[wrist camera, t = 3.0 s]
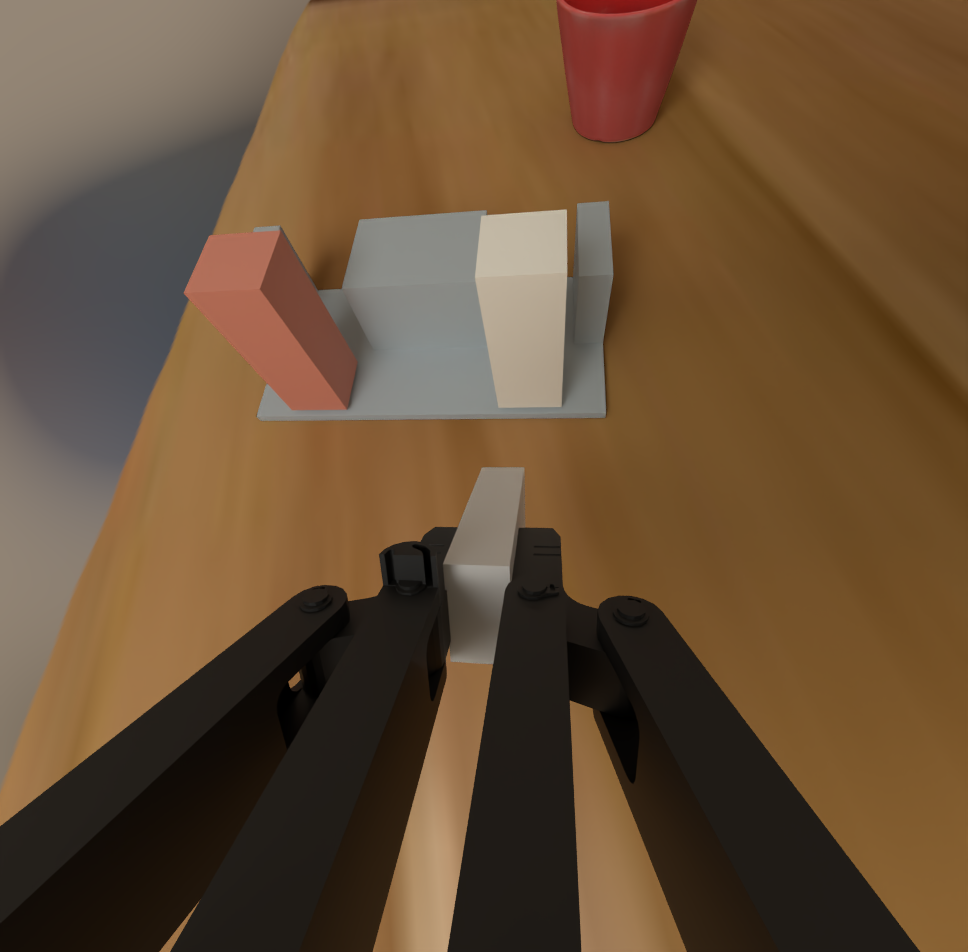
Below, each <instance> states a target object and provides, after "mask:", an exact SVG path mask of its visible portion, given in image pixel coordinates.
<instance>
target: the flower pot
mask: <svg viewBox="0 0 968 952" xmlns="http://www.w3.org/2000/svg"><path fill="white" fill-rule="evenodd" d="M696 2H697V0H557V10H558V19H559V27H560V35H561V43H562V50H563V59H564V66H565V74H566V81H567V88H568V95H569V102H570V109H571V115H572V122H573V126H574V128H575V130H576V131H577V132H578V133H579V134H580V135H582V136H583V137H585V138H588V139H590V140H594V141H595V140H600V141H602V142H620V141H625V140H629V139H632V138H634V137H637V136H639V135H641V134H642V133H644V132H645V131H647V130H648V129H649V128H650V127H651V126H652V124H653V123H654V121H655V119H656V116H657V113H658V110H659V108H660V105H661V102H662V100H663V97H664V95H665V92H666V89H667V86H668V84H669V81H670V78H671V75H672V73H673V70H674V67H675V64H676V61H677V58H678V56H679V53H680V50H681V47H682V44H683V41H684V38H685V35H686V32H687V29H688V26H689V23H690V20H691V17H692V14H693V11H694V8H695V5H696Z"/></svg>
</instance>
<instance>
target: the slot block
mask: <svg viewBox="0 0 968 952" xmlns="http://www.w3.org/2000/svg"><path fill="white" fill-rule="evenodd" d="M485 215H487V210H484V211H470V212H457V213H443V214H430V215H417V216H403V217H390V218H376V219H363V220H359V224H358V228H357V232H356V235H355V239H354V243H353V247H352V251H351V255H350V259H349V262H348V266H347V270H346V274H345V278H344V282H343V285H342V289H332V290H317V288H316V286H315V284H314V283H313V281H312V279H311V278H310V276H309V274H308V272H307V271H306V269H305V267H304V265H303V264H302V262H301V260H300V259H299V257H298V255H297V253H296V252H295V250H294V248H293V247H292V245H291V243H290V241H289V240H288V238H287V236H286V234H285V233H284V231H283V229H282V228H281V226H268V227H255V228H254V231H253V232H264V231H278V230H281V232H282V233H283V235H284V237H285V238H286V240H287V242H288V244H289V245H290V247H291V249H292V250H293V252H294V254H295V256H296V257H297V259H298V261H299V262H300V264H301V266H302V267H303V269H304V271H305V273H306V274H307V276H308V278H309V279H310V281H311V283H312V285H313V286H314V288H315V290H316V291H317V293H318V295H319V296H320V298H321V300H322V302H323V303H324V305H325V307H326V308H327V310H328V312H329V314H330V315H331V317H332V319H333V320H334V322H335V324H336V326H337V327H338V329H339V331H340V332H341V334H342V336H343V337H344V339H345V341H346V343H347V344H348V346H349V348H350V349H351V351H352V353H353V355H354V356H355V358H356V360H357V361H358V363H357V367H356V372H355V376H354V381H353V385H352V390H351V395H350V399H349V404H348V408H347V410H291V409H290V408H289V406H288V405H287V404H286V403H285V402H284V401H283V400H282V399H281V398H280V397H279V396H278V395H277V393H276V392H275V391H274V390H273V389H272V388H271V387H270V386H269V385H268V384H266V388H265V391H264V394H263V397H262V400H261V404H260V407H259V410H258V413H257V416H256V417H258V418H259V419H260V420H261V421H290V420H404V419H519V418H605V416H606V400H605V378H604V357H603V339H604V332H605V326H606V319H607V313H608V306H609V300H610V293H611V287H612V280H613V261H612V245H611V229H610V213H609V201H605V202H592V203H578V204H577V218H576V236H575V253H574V271H573V277H567V289H566V313H565V336H564V360H563V383H562V406H561V407H528V408H498V402H497V397H496V391H495V386H494V380H493V375H492V369H491V364H490V358H489V353H488V347H487V342H486V336H485V331H484V325H483V320H482V314H481V309H480V303H479V298H478V292H477V287H476V281H475V271H476V262H477V252H478V242H479V233H480V223H481V216H485Z"/></svg>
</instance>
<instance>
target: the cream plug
mask: <svg viewBox="0 0 968 952" xmlns="http://www.w3.org/2000/svg"><path fill="white" fill-rule="evenodd" d="M475 281H476V287H477V292H478V298H479V303H480V309H481V314H482V320H483V325H484V331H485V336H486V342H487V347H488V353H489V358H490V364H491V369H492V375H493V380H494V386H495V391H496V397H497V402H498V408H528V407H561V406H562V383H563V360H564V336H565V313H566V289H567V210H554V211H540V212H526V213H512V214H499V215H485V216H481V223H480V233H479V242H478V252H477V262H476V271H475Z"/></svg>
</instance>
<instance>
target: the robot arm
mask: <svg viewBox="0 0 968 952" xmlns="http://www.w3.org/2000/svg"><path fill="white" fill-rule="evenodd" d="M379 557H380V564H381V572H382V579H383V587H382V589H381V590H380V592H379V594H378V595H377V596H375V597H371V598H366V599H360V600H354V601H348V598H347V594H346V592H345V591H344V590H343V589H342V588H339V587H337V586H330V585H321V586H315V587H312V588H310V589H307V590H304V591H302V592H300V593H298V594H297V595H295V596H293V597H292V598H291V599H290V600H288V601H287V602H286V603H285V604H283V605H282V606H281V607H279V608H278V609H277V610H276V611H274V612H273V613H272V614H271V615H269V616H268V617H267V618H265V619H264V620H263V621H262V622H260V623H259V624H258V625H256V626H255V627H254V628H253V629H251V630H250V631H249V632H248V633H246V634H245V635H244V636H242V637H241V638H240V639H239V640H237V641H236V642H235V643H234V644H232V645H231V646H230V647H228V648H227V649H226V650H225V651H223V652H222V653H221V654H219V655H218V656H217V657H216V658H214V659H213V660H212V661H211V662H209V663H208V664H207V665H205V666H204V667H203V668H202V669H200V670H199V671H198V672H197V673H195V674H194V675H193V676H191V677H190V678H189V679H188V680H186V681H185V682H184V683H182V684H181V685H180V686H179V687H177V688H176V689H175V690H174V691H172V692H171V693H170V694H168V695H167V696H166V697H165V698H163V699H162V700H161V701H160V702H158V703H157V704H156V705H154V706H153V707H152V708H151V709H149V710H148V711H147V712H146V713H144V714H143V715H142V716H140V717H139V718H138V719H137V720H135V721H134V722H133V723H131V724H130V725H129V726H128V727H126V728H125V729H124V730H123V731H121V732H120V733H119V734H117V735H116V736H115V737H114V738H112V739H111V740H110V741H109V742H107V743H106V744H105V745H103V746H102V747H101V748H100V749H98V750H97V751H96V752H94V753H93V754H92V755H91V756H89V757H88V758H87V759H86V760H84V761H83V762H82V763H80V764H79V765H78V766H77V767H75V768H74V769H73V770H72V771H70V772H69V773H68V774H66V775H65V776H64V777H63V778H61V779H60V780H59V781H58V782H56V783H55V784H54V785H52V786H51V787H50V788H49V789H47V790H46V791H45V792H43V793H42V794H41V795H40V796H38V797H37V798H36V799H35V800H33V801H32V802H31V803H29V804H28V805H27V806H26V807H24V808H23V809H22V810H21V811H19V812H18V813H17V814H15V815H14V816H13V817H12V818H10V819H9V820H8V821H6V822H5V823H4V824H3V825H1V826H0V952H159V951H160V950H161V949H162V947H163V946H164V945H165V944H166V942H167V941H168V940H169V939H170V937H171V936H172V935H173V933H174V932H175V931H176V930H177V928H178V927H179V926H180V925H181V923H182V922H183V921H184V920H185V918H186V917H187V916H188V914H189V913H190V912H191V911H192V909H193V908H194V907H195V906H196V904H197V903H198V902H199V903H198V905H197V907H196V908H195V910H194V912H193V913H192V915H191V917H190V919H189V920H188V922H187V924H186V926H185V927H184V929H183V931H182V932H181V934H180V936H179V938H178V939H177V941H176V943H175V944H174V946H173V948H172V950H171V951H170V952H373V948H374V944H375V941H376V937H377V933H378V930H379V926H380V922H381V918H382V915H383V911H384V907H385V904H386V900H387V896H388V893H389V889H390V885H391V881H392V878H393V874H394V870H395V867H396V863H397V859H398V856H399V852H400V848H401V844H402V841H403V837H404V833H405V830H406V826H407V822H408V819H409V815H410V811H411V807H412V804H413V800H414V796H415V793H416V789H417V785H418V782H419V778H420V774H421V770H422V767H423V763H424V759H425V756H426V752H427V748H428V745H429V741H430V737H431V733H432V730H433V726H434V722H435V719H436V715H437V711H438V707H439V704H440V700H441V696H442V693H443V689H444V685H445V682H446V678H447V669H446V656H447V652H448V649H449V645H450V657H451V662H466V663H482V664H493V669H492V675H491V681H490V687H489V694H488V700H487V706H486V713H485V719H484V725H483V731H482V738H481V744H480V750H479V757H478V763H477V769H476V775H475V782H474V788H473V794H472V801H471V807H470V813H469V819H468V826H467V832H466V838H465V845H464V851H463V857H462V863H461V870H460V876H459V882H458V889H457V895H456V901H455V907H454V914H453V920H452V926H451V933H450V939H449V945H448V951H447V952H581V934H580V913H579V892H578V870H577V849H576V828H575V807H574V785H573V764H572V743H571V722H570V701H573V702H576V703H579V704H582V705H585V706H587V707H590V708H593V714H594V718H595V721H596V723H597V726H598V728H599V731H600V733H601V736H602V738H603V741H604V744H605V746H606V749H607V751H608V754H609V756H610V759H611V761H612V764H613V766H614V769H615V771H616V774H617V776H618V779H619V781H620V784H621V786H622V789H623V791H624V794H625V797H626V799H627V802H628V804H629V807H630V809H631V812H632V814H633V817H634V819H635V822H636V824H637V827H638V829H639V832H640V834H641V837H642V839H643V842H644V844H645V847H646V849H647V852H648V855H649V857H650V860H651V862H652V865H653V867H654V870H655V872H656V875H657V877H658V880H659V882H660V885H661V887H662V890H663V892H664V895H665V897H666V900H667V902H668V905H669V908H670V910H671V913H672V915H673V918H674V920H675V923H676V925H677V928H678V930H679V933H680V935H681V938H682V940H683V943H684V945H685V948H686V950H687V952H920V951H919V950H918V948H917V947H916V946H915V944H914V943H913V942H912V940H911V939H910V938H909V936H908V935H907V934H906V932H905V931H904V930H903V929H902V927H901V926H900V925H899V923H898V922H897V921H896V919H895V918H894V917H893V915H892V914H891V913H890V911H889V910H888V909H887V907H886V906H885V905H884V903H883V902H882V901H881V899H880V898H879V897H878V896H877V894H876V893H875V892H874V890H873V889H872V888H871V886H870V885H869V884H868V882H867V881H866V880H865V878H864V877H863V876H862V874H861V873H860V872H859V870H858V869H857V868H856V867H855V865H854V864H853V863H852V861H851V860H850V859H849V857H848V856H847V855H846V853H845V852H844V851H843V849H842V848H841V847H840V845H839V844H838V843H837V841H836V840H835V839H834V838H833V836H832V835H831V834H830V832H829V831H828V830H827V828H826V827H825V826H824V824H823V823H822V822H821V820H820V819H819V818H818V816H817V815H816V814H815V812H814V811H813V810H812V808H811V807H810V806H809V805H808V803H807V802H806V801H805V799H804V798H803V797H802V795H801V794H800V793H799V791H798V790H797V789H796V787H795V786H794V785H793V783H792V782H791V781H790V779H789V778H788V777H787V776H786V774H785V773H784V772H783V770H782V769H781V768H780V766H779V765H778V764H777V762H776V761H775V760H774V758H773V757H772V756H771V754H770V753H769V752H768V750H767V749H766V748H765V747H764V745H763V744H762V743H761V741H760V740H759V739H758V737H757V736H756V735H755V733H754V732H753V731H752V729H751V728H750V727H749V725H748V724H747V723H746V721H745V720H744V719H743V718H742V716H741V715H740V714H739V712H738V711H737V710H736V708H735V707H734V706H733V704H732V703H731V702H730V700H729V699H728V698H727V696H726V695H725V694H724V692H723V691H722V690H721V688H720V687H719V686H718V685H717V683H716V682H715V681H714V679H713V678H712V677H711V675H710V674H709V673H708V671H707V670H706V669H705V667H704V666H703V665H702V663H701V662H700V661H699V659H698V658H697V657H696V656H695V654H694V653H693V652H692V650H691V649H690V648H689V646H688V645H687V644H686V642H685V641H684V640H683V638H682V637H681V636H680V634H679V633H678V632H677V630H676V629H675V628H674V627H673V625H672V624H671V623H670V621H669V620H668V619H667V617H666V616H665V615H664V613H663V612H662V611H661V610H660V609H659V608H658V607H657V606H655V605H654V604H653V603H651V602H648V601H646V600H644V599H641V598H637V597H633V596H616V597H611V598H608V599H606V600H605V601H603V602H602V603H601V604H600V606H599V608H598V609H596V608H592V607H589V606H586V605H583V604H580V603H578V602H576V601H574V600H573V599H571V598H570V597H569V596H568V595H567V594H566V592H565V591H564V588H563V581H562V560H561V539H560V536H559V535H558V534H557V532H556V531H555V530H554V529H553V528H525V469H524V467H482V469H481V472H480V474H479V477H478V479H477V481H476V484H475V486H474V489H473V491H472V494H471V496H470V499H469V501H468V504H467V506H466V508H465V511H464V513H463V516H462V518H461V521H460V523H459V526H458V527H435V528H433V529H432V530H430V531H429V532H428V533H426V534H425V535H424V536H423V538H422V540H421V542H417V541H411V542H402V543H398V544H394V545H392V546H390V547H388V548H386V549H384V550H383V551H382V552H381V553H380V554H379ZM297 672H299V673H300V678H301V680H300V681H299V682H298V683H297V684H296V685H295V686H293V687H292V688H290V687H289V683H288V681H289V680H290V679H291V678H292V677H293V676H294V675H295V674H296V673H297ZM200 899H201V900H200Z"/></svg>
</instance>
